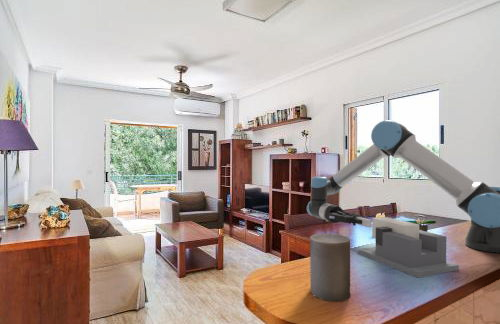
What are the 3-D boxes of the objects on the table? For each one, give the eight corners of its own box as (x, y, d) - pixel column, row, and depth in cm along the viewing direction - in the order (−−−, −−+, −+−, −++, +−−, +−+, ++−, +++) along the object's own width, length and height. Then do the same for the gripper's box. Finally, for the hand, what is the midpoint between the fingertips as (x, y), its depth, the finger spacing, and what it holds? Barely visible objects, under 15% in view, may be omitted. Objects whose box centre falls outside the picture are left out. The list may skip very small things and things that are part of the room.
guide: (358, 253, 108) (358, 223, 108) (394, 248, 114) (394, 220, 114) (417, 277, 86) (417, 240, 86) (458, 269, 92) (458, 235, 92)
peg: (372, 237, 109) (372, 218, 109) (385, 236, 111) (385, 217, 111) (405, 248, 96) (405, 225, 96) (419, 246, 98) (419, 224, 98)
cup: (426, 248, 114) (426, 227, 114) (404, 245, 119) (404, 224, 119) (429, 244, 120) (429, 224, 120) (408, 241, 125) (408, 221, 124)
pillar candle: (357, 292, 76) (356, 232, 76) (339, 306, 69) (339, 239, 69) (321, 282, 82) (321, 226, 82) (302, 293, 75) (302, 232, 75)
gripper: (343, 220, 139) (383, 232, 117) (318, 222, 134) (355, 235, 112) (343, 204, 139) (383, 212, 117) (319, 205, 134) (356, 214, 112)
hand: (370, 223), depth 114 cm, fingers closed
